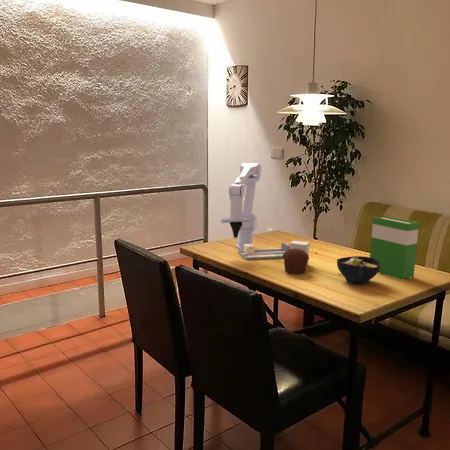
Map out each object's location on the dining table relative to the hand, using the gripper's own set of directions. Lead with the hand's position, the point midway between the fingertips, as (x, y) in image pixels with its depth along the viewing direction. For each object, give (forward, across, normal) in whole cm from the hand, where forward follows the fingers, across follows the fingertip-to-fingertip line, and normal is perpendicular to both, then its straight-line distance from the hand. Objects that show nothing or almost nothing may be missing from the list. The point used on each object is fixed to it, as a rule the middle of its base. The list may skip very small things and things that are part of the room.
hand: (235, 237), depth 231 cm
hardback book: (+10, +60, -40) cm, 72 cm away
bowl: (+10, +39, -48) cm, 62 cm away
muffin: (+10, +19, -30) cm, 36 cm away
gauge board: (+9, +15, -2) cm, 18 cm away
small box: (+10, +25, -20) cm, 33 cm away
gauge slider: (+8, +7, -1) cm, 11 cm away
